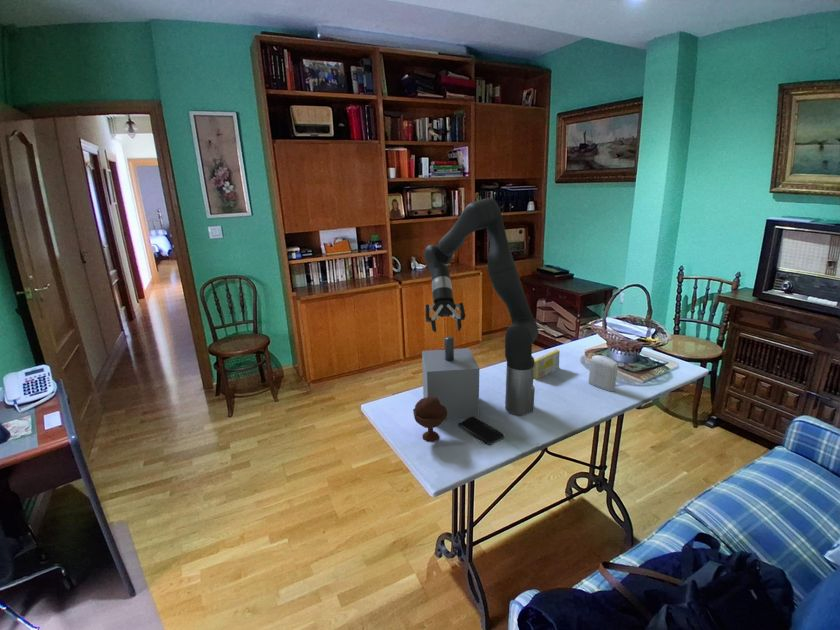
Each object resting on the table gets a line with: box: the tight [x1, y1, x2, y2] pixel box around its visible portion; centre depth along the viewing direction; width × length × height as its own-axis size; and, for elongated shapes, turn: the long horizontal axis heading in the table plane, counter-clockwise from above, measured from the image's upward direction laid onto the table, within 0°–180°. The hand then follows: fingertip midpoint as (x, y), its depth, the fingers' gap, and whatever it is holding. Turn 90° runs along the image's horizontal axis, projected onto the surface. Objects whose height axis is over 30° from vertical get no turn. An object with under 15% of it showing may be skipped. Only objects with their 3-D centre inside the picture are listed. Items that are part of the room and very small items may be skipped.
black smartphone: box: [457, 417, 505, 446], centre depth 143 cm, size 8×1×15 cm
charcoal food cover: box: [421, 335, 480, 421], centre depth 155 cm, size 18×18×27 cm
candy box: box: [533, 349, 560, 381], centre depth 181 cm, size 16×2×8 cm, turn 128°
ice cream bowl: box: [412, 396, 447, 443], centre depth 139 cm, size 11×11×15 cm
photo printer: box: [588, 354, 619, 392], centre depth 168 cm, size 10×4×12 cm, turn 38°
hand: (447, 330), depth 155 cm, fingers open, 8 cm apart
